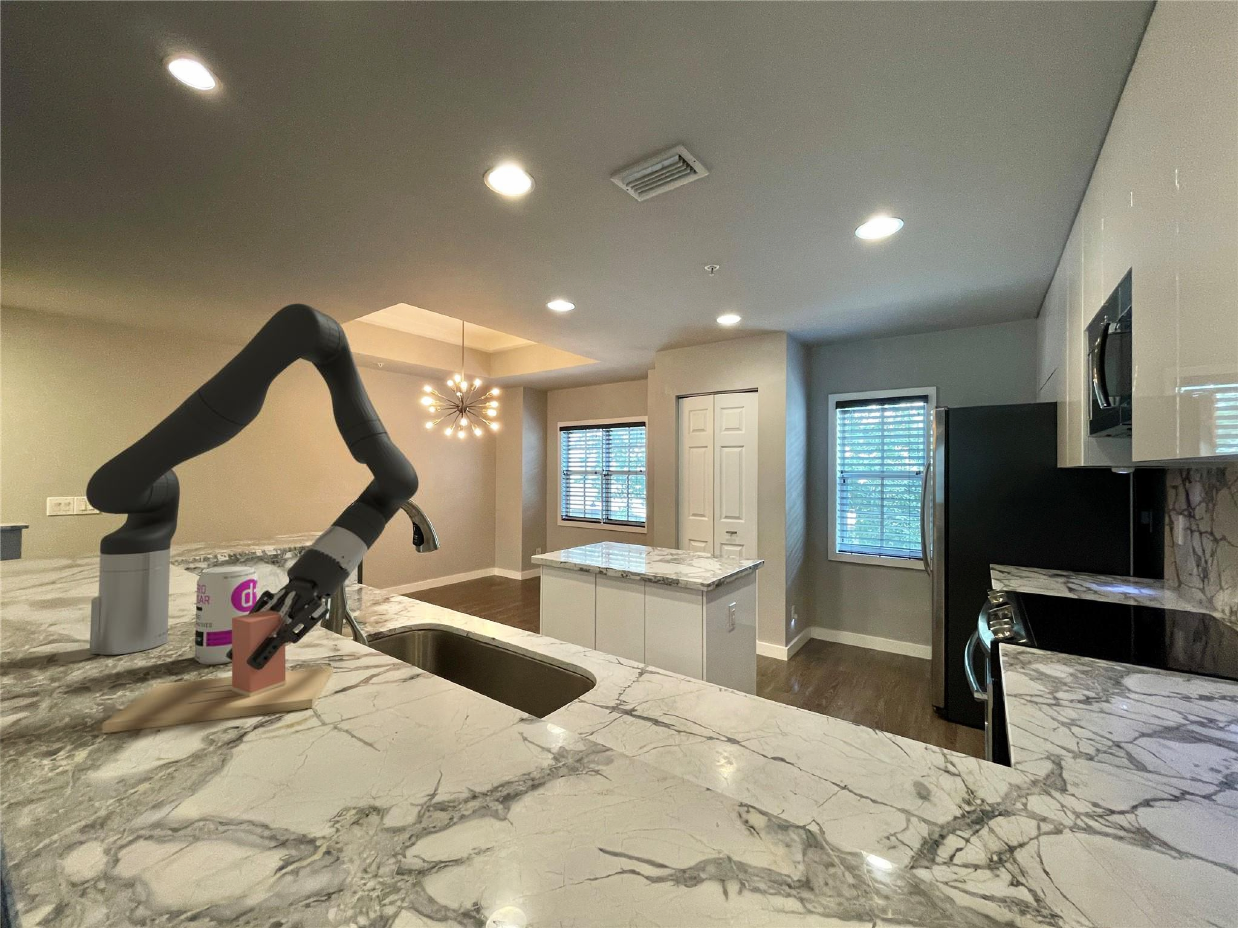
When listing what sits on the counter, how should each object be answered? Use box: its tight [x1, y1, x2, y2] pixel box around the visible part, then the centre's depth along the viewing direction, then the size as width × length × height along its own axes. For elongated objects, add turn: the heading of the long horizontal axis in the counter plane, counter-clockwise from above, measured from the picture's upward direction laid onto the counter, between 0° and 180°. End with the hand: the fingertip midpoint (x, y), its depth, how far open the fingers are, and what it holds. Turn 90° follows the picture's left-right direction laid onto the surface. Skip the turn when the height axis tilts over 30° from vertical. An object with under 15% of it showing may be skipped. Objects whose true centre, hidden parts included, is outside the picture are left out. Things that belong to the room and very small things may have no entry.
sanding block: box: [231, 610, 286, 697], centre depth 70 cm, size 5×5×10 cm
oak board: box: [101, 666, 334, 734], centre depth 69 cm, size 22×12×1 cm, turn 108°
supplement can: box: [194, 564, 259, 666], centre depth 86 cm, size 8×8×15 cm
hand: (242, 662), depth 69 cm, fingers closed on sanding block, 4 cm apart
